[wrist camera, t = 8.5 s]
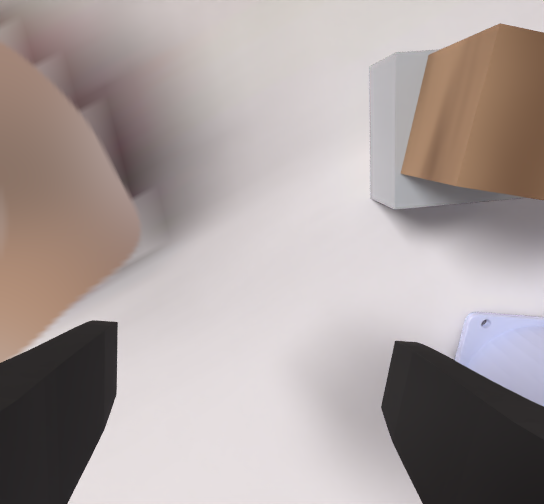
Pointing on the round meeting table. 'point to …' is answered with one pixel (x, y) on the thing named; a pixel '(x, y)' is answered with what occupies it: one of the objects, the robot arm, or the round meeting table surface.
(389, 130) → the grey block
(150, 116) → the round meeting table surface
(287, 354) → the round meeting table surface
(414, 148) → the walnut cube
